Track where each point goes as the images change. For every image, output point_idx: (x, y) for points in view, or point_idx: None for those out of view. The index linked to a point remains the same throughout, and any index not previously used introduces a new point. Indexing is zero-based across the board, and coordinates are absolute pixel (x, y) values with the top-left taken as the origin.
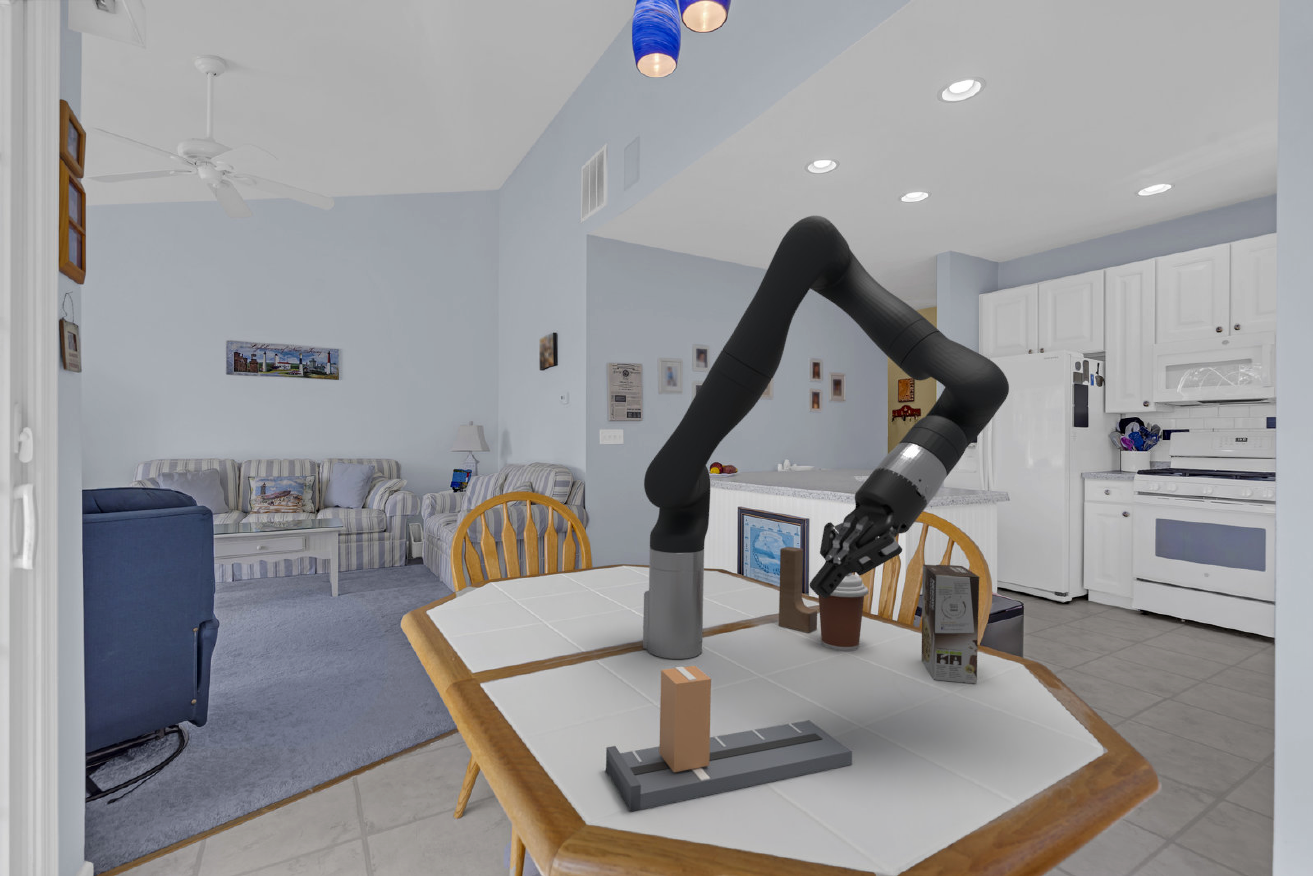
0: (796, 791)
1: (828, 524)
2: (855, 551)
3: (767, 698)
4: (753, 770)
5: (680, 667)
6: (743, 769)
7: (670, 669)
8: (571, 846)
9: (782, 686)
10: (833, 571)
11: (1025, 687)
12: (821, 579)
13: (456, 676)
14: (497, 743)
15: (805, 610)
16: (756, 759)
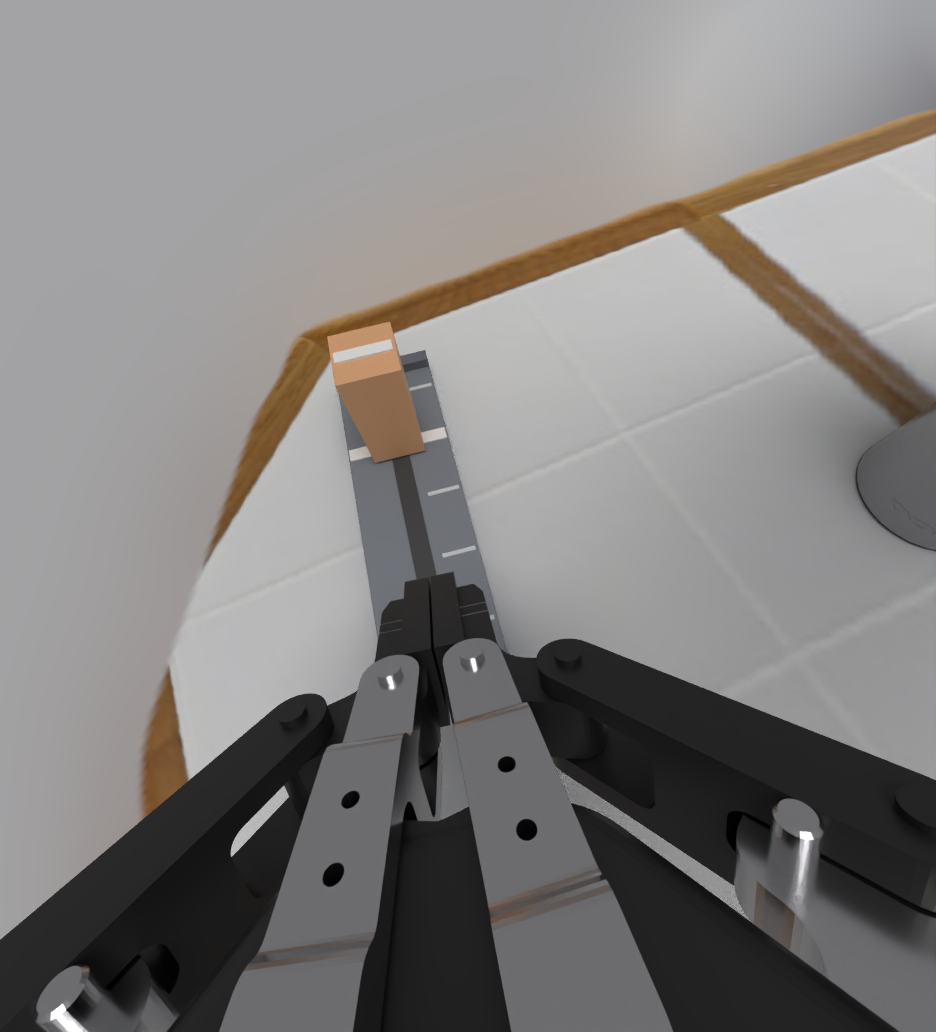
0: (341, 578)
1: (922, 818)
2: (272, 766)
3: (662, 632)
4: (360, 518)
5: (389, 345)
6: (364, 505)
7: (390, 334)
8: (303, 346)
9: (735, 689)
10: (393, 652)
11: None
12: (405, 598)
13: (702, 201)
14: (503, 270)
15: None
16: (386, 529)
